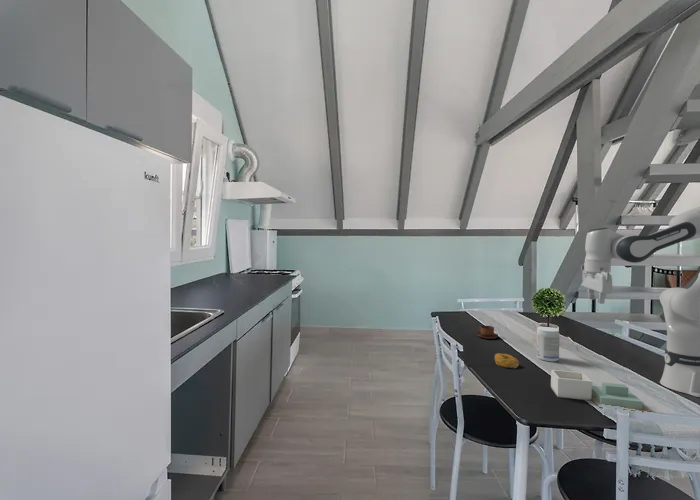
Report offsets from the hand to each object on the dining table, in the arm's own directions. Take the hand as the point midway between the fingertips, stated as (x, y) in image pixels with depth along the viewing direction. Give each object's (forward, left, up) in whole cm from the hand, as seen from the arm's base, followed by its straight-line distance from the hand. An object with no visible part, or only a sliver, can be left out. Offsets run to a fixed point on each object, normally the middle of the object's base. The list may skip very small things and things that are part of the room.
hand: (596, 301), depth 148 cm
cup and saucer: (+35, -57, -34) cm, 75 cm away
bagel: (+32, -11, -34) cm, 47 cm away
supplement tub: (+11, -25, -33) cm, 43 cm away
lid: (0, +19, -33) cm, 38 cm away
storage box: (+13, +16, -33) cm, 39 cm away
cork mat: (0, +19, -33) cm, 38 cm away
